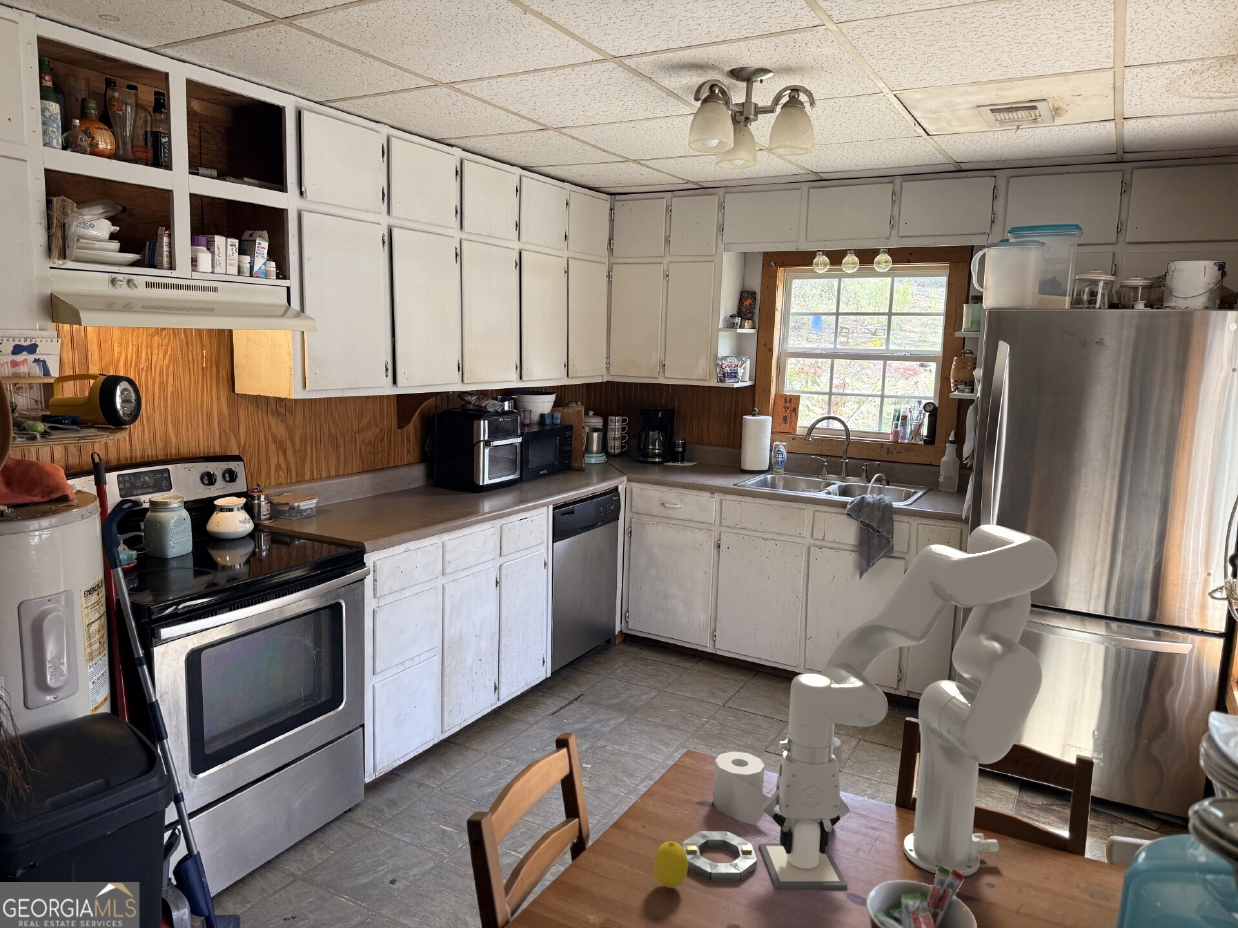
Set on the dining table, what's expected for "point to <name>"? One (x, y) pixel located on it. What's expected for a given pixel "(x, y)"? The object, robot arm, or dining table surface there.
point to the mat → (801, 870)
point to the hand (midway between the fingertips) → (803, 848)
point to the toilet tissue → (739, 786)
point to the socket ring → (720, 870)
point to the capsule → (805, 843)
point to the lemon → (670, 864)
